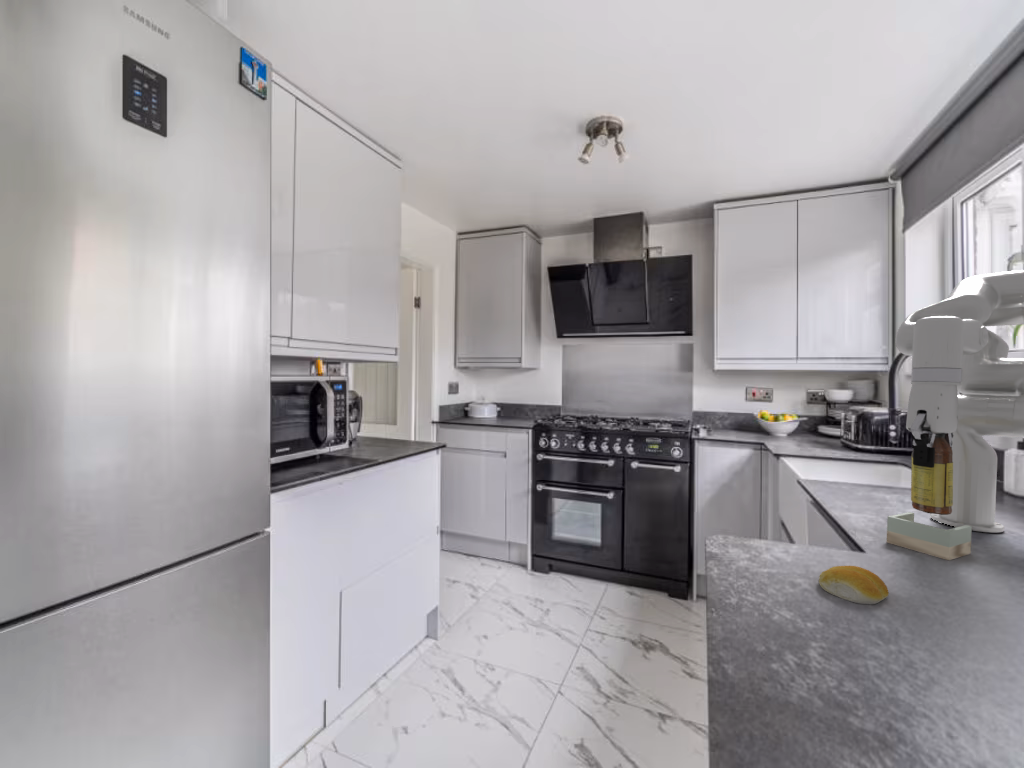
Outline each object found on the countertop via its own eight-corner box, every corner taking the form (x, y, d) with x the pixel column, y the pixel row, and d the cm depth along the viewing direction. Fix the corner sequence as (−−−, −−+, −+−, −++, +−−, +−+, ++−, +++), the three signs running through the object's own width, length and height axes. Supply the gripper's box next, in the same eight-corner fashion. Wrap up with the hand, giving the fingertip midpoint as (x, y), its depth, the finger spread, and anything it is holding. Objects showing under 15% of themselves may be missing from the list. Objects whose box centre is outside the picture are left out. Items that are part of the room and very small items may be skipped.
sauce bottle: (934, 508, 94) (939, 414, 94) (961, 517, 88) (966, 416, 88) (901, 506, 95) (905, 413, 95) (925, 514, 89) (930, 415, 88)
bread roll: (894, 596, 70) (895, 571, 70) (872, 611, 65) (873, 584, 65) (833, 576, 77) (834, 553, 77) (809, 588, 72) (810, 563, 72)
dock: (908, 537, 98) (909, 512, 98) (970, 553, 89) (971, 526, 89) (886, 542, 94) (887, 516, 94) (948, 560, 85) (950, 531, 85)
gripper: (933, 379, 98) (929, 460, 98) (891, 376, 91) (887, 464, 91) (980, 379, 91) (976, 466, 92) (938, 376, 84) (934, 471, 84)
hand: (931, 464), depth 91 cm, fingers closed on sauce bottle, 6 cm apart
